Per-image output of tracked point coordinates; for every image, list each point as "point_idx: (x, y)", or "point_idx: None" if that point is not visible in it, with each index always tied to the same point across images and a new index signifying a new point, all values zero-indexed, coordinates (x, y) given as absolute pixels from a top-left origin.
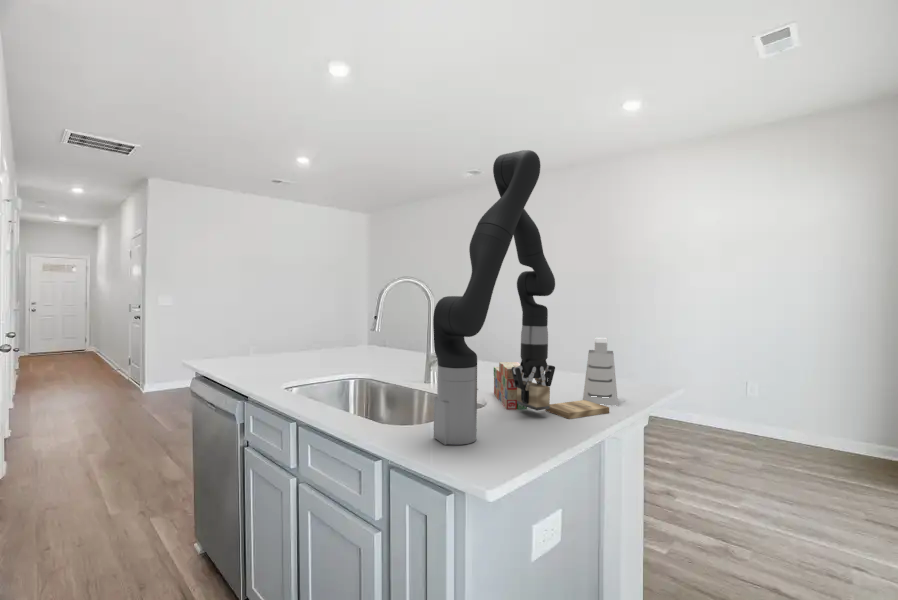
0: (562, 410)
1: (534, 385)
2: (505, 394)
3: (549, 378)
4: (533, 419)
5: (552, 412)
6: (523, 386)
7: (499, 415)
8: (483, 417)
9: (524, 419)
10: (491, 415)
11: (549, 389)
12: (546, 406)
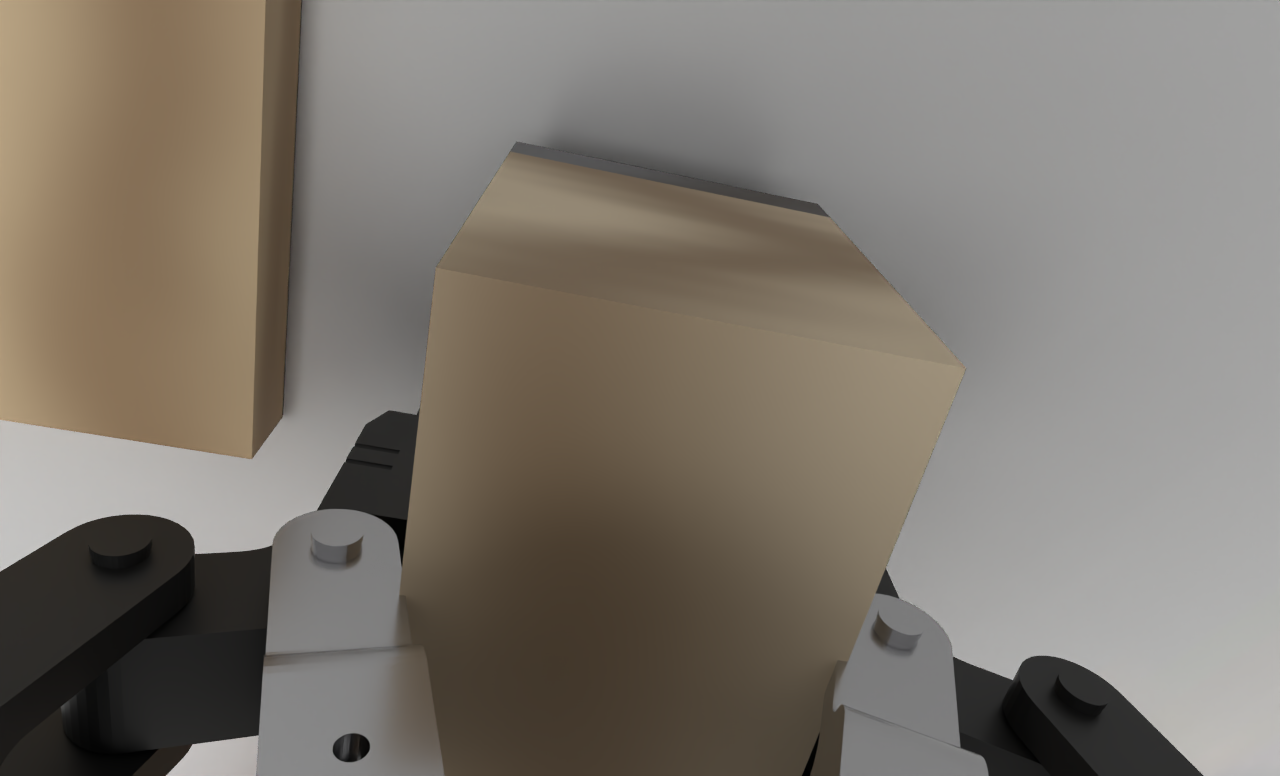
0: (237, 32)
1: (660, 648)
2: None
3: (4, 692)
4: (815, 198)
5: (287, 260)
6: (1036, 688)
7: (980, 578)
8: (1184, 615)
9: (912, 277)
10: (1047, 624)
11: (469, 247)
12: (589, 165)
